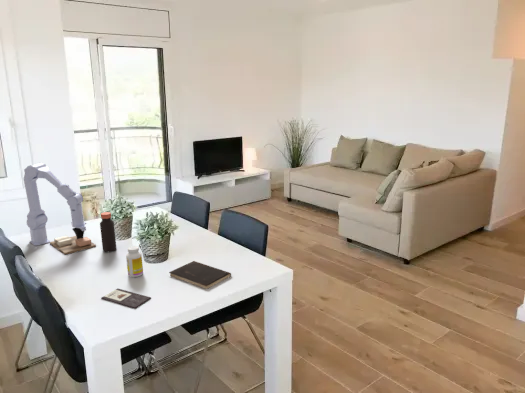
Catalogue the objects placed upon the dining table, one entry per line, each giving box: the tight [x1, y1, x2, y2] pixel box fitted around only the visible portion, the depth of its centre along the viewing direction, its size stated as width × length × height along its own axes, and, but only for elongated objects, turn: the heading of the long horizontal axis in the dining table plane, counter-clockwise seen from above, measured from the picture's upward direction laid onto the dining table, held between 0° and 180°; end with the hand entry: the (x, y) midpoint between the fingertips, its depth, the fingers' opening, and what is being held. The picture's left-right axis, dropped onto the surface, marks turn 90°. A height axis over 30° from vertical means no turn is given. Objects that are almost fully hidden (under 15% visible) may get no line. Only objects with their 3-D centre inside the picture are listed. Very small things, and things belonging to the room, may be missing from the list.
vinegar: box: [99, 211, 117, 253], centre depth 222 cm, size 7×7×20 cm
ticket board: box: [49, 235, 97, 255], centre depth 231 cm, size 22×16×4 cm
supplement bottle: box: [125, 245, 144, 278], centre depth 193 cm, size 7×7×13 cm
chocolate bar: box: [100, 288, 152, 310], centre depth 173 cm, size 9×1×18 cm
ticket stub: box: [75, 236, 92, 247], centre depth 229 cm, size 6×6×2 cm
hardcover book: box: [168, 260, 232, 290], centre depth 193 cm, size 16×23×2 cm
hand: (80, 240), depth 232 cm, fingers closed
